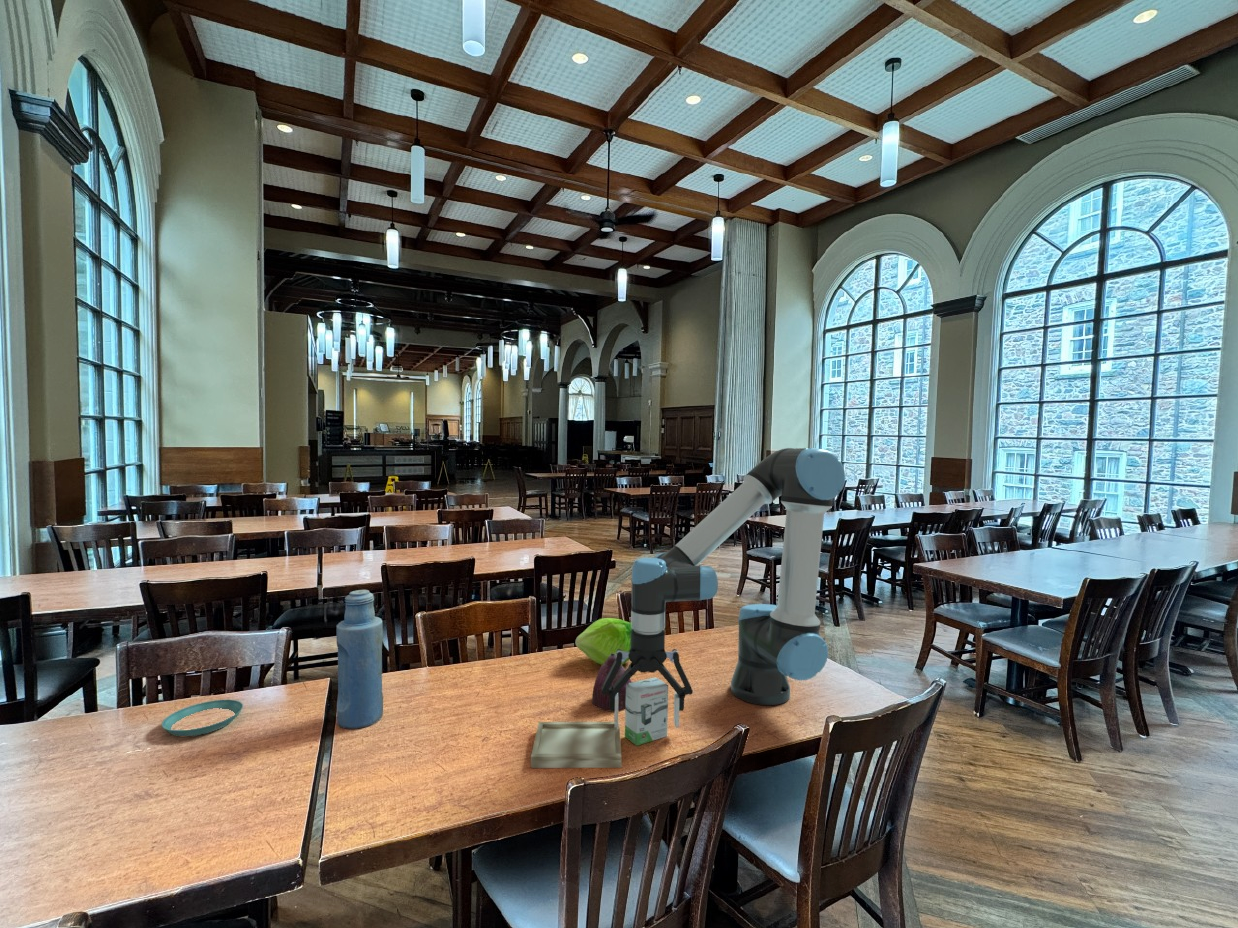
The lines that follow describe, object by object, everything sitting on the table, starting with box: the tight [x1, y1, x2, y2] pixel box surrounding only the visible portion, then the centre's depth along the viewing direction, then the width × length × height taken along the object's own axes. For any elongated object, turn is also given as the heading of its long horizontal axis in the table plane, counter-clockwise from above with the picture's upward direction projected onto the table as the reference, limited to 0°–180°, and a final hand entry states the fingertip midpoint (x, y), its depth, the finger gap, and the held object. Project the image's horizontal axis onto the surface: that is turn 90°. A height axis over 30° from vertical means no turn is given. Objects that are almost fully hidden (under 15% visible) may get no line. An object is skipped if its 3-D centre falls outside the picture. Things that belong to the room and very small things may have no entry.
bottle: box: [336, 589, 384, 730], centre depth 128 cm, size 10×10×30 cm
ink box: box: [624, 677, 669, 747], centre depth 122 cm, size 9×5×12 cm, turn 122°
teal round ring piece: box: [161, 699, 244, 737], centre depth 125 cm, size 15×15×3 cm
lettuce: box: [575, 617, 632, 666], centre depth 164 cm, size 15×20×14 cm
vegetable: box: [591, 653, 632, 712], centre depth 138 cm, size 10×10×15 cm
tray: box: [530, 721, 622, 769], centre depth 117 cm, size 18×14×2 cm
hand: (646, 724), depth 122 cm, fingers open, 13 cm apart
